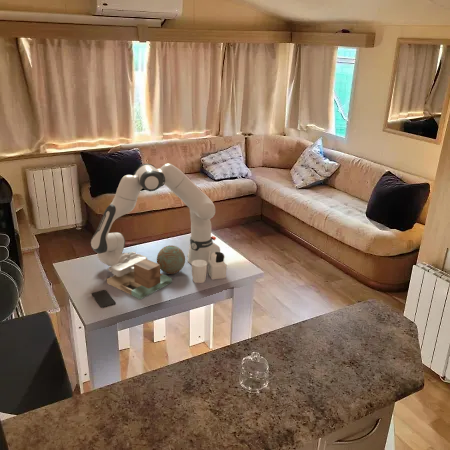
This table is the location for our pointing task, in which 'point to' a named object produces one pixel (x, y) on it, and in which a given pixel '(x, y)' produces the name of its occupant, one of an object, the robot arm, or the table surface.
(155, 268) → the walnut block
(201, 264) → the white cup
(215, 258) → the container
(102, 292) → the phone
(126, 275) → the board
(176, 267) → the decorative sphere
